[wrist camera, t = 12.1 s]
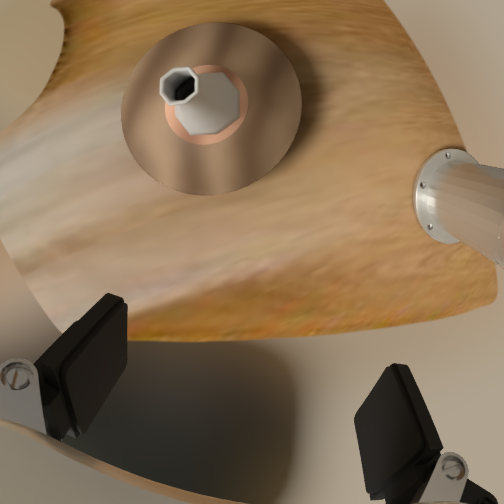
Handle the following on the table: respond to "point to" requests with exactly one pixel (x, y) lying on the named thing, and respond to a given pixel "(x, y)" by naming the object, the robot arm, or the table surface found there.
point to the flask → (201, 99)
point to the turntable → (232, 137)
